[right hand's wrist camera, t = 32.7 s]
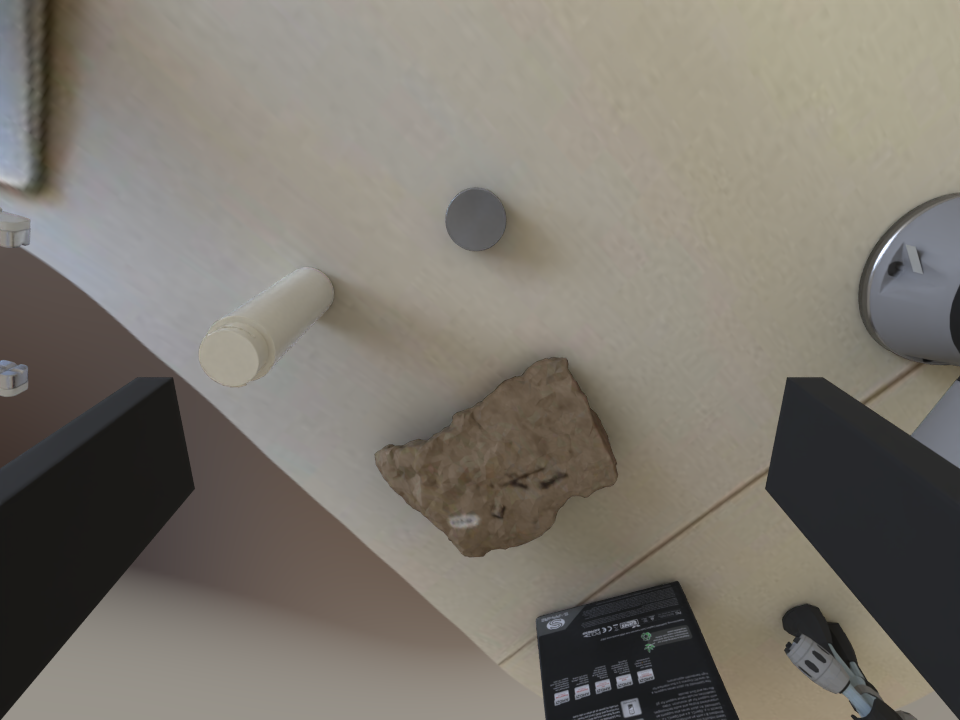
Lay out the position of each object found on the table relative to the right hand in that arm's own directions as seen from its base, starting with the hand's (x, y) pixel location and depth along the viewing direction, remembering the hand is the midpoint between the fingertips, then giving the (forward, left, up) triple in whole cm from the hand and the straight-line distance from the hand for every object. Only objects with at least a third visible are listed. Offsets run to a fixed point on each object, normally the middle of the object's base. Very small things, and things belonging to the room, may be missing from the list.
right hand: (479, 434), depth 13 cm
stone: (-20, +10, -41) cm, 47 cm away
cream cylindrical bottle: (+3, +17, -41) cm, 44 cm away
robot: (-59, -8, -41) cm, 72 cm away
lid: (0, 0, -39) cm, 39 cm away
